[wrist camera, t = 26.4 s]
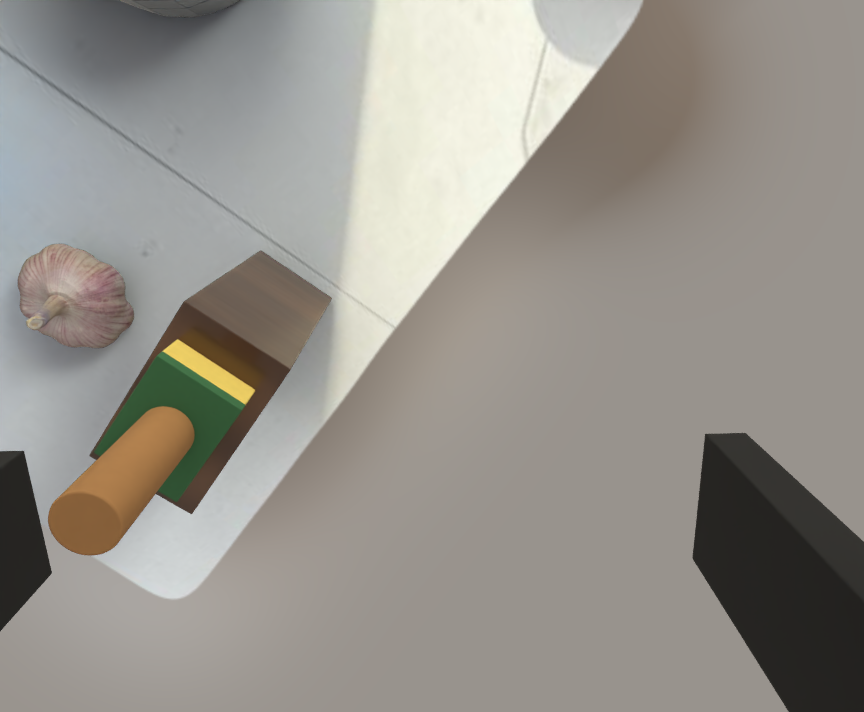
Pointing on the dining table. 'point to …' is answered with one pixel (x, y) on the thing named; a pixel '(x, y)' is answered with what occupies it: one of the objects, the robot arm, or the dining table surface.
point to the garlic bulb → (73, 297)
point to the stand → (242, 344)
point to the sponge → (150, 448)
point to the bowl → (181, 6)
